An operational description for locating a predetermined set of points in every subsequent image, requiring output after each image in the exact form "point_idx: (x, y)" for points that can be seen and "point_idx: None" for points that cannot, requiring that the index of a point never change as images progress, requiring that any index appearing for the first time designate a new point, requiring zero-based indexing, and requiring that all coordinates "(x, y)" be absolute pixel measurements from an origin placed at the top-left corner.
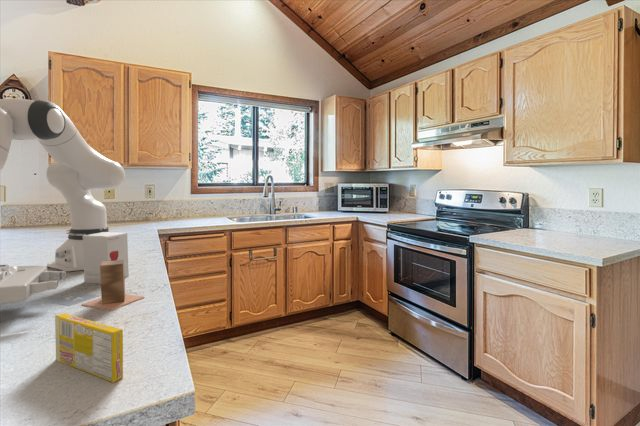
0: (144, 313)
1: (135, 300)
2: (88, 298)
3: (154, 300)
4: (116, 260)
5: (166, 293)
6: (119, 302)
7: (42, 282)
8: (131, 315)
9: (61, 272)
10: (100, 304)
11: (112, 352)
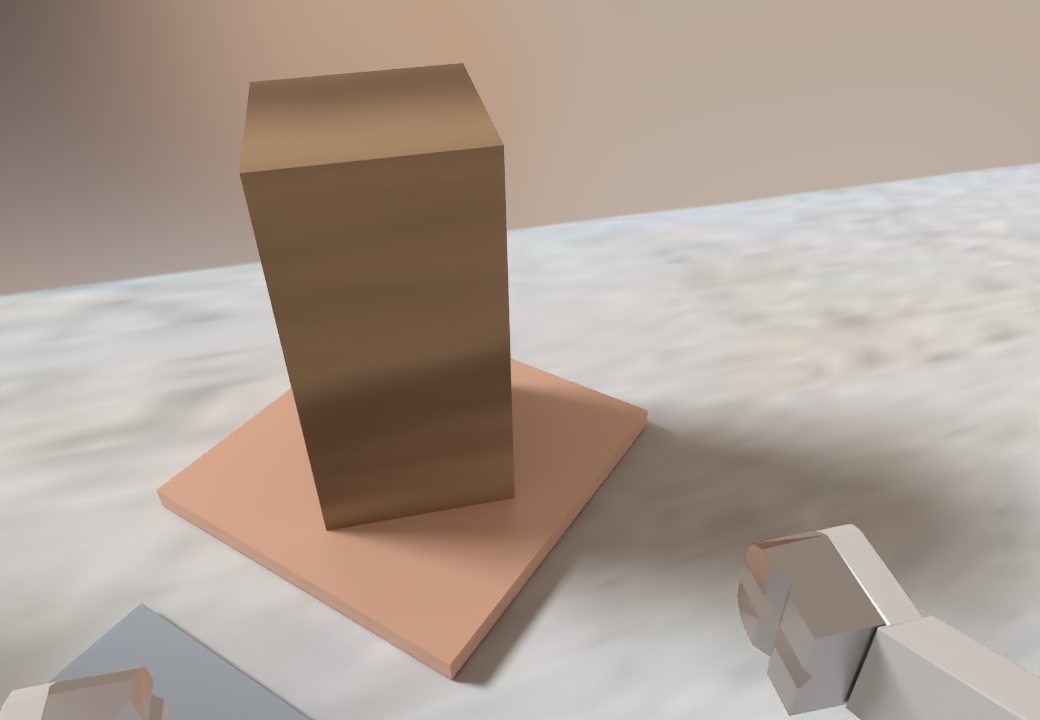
0: (697, 285)
1: None
2: (203, 692)
3: None
4: (248, 109)
5: None
6: None
7: (977, 672)
8: (730, 325)
9: (127, 702)
10: (508, 507)
11: None
